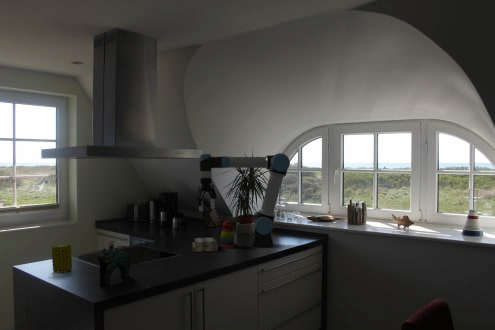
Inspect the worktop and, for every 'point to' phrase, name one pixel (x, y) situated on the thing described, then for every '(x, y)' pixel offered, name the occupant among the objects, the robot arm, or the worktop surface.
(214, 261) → the worktop surface
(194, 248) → the plinth
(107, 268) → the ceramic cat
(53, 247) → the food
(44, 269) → the worktop surface
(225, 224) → the stacking bear
